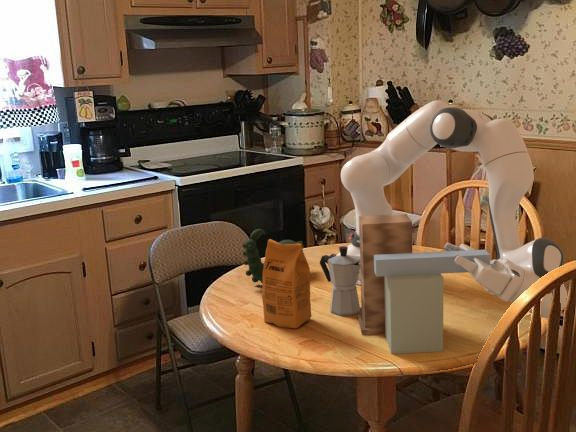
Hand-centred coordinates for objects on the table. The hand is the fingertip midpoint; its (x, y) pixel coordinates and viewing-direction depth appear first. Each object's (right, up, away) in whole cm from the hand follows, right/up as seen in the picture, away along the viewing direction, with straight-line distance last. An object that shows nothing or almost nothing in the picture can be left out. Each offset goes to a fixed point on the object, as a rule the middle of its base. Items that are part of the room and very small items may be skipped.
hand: (450, 251), depth 151 cm
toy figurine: (-41, -12, +56) cm, 70 cm away
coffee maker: (-23, -17, +29) cm, 41 cm away
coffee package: (-38, -20, +23) cm, 48 cm away
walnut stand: (-12, -20, +17) cm, 29 cm away
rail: (-4, -5, +1) cm, 6 cm away
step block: (-7, -22, +5) cm, 24 cm away
